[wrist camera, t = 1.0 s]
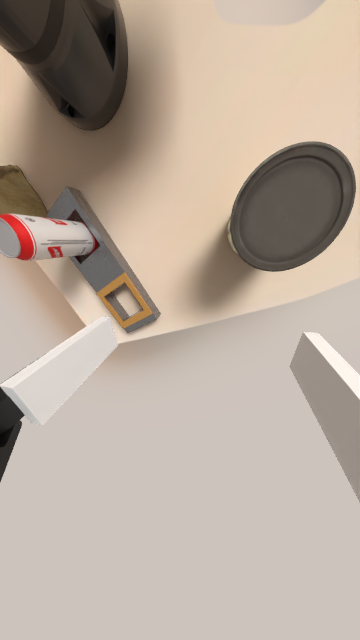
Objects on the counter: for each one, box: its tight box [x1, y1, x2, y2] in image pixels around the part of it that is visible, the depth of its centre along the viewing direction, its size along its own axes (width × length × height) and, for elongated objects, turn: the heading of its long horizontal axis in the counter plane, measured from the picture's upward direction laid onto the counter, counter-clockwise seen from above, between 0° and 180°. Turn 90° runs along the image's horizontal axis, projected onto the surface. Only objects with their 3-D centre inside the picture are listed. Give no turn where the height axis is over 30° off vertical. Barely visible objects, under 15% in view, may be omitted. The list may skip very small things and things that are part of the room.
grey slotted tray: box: [45, 187, 161, 333], centre depth 36 cm, size 30×10×3 cm, turn 32°
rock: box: [0, 165, 47, 218], centre depth 31 cm, size 11×9×10 cm
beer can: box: [0, 214, 98, 260], centre depth 28 cm, size 6×6×16 cm
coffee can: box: [227, 142, 356, 272], centre depth 21 cm, size 10×10×14 cm
